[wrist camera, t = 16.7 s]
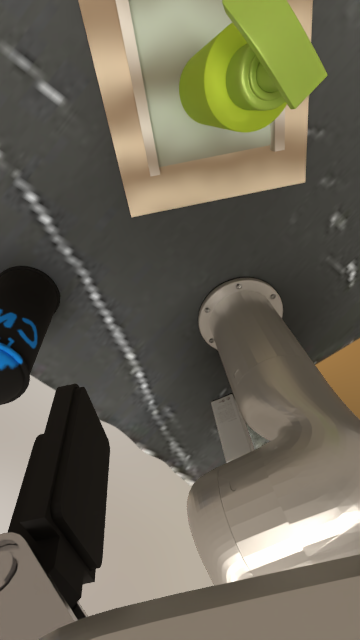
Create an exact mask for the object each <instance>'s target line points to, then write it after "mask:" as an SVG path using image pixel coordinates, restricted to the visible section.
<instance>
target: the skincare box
mask: <svg viewBox="0 0 360 640" xmlns="http://www.w3.org/2000/svg"><path fill="white" fill-rule="evenodd" d="M211 405H212V409H213V413H214V416H215V420H216V424H217V428H218V432H219V436H220V440H221V444H222V447H223V451H224V455H225V459H226V462H227V463H228V462H230V461H232V460H234V459H236V458H238V457H240V456H243V455H245V454H247V453H249V452H251V451H253V450H255V449H254V446H253V443H252V440H251V438H250V435H249V432H248V429H247V426H246V423H245V420H244V419H243V417H242V415H241V413H240V411H239V409H238V406H237V403H236V401H235V399H234V397H233V395H232V394H230V395H228V396H225V397H223V398H220V399H218V400H215V401H213V402H211Z"/></svg>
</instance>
